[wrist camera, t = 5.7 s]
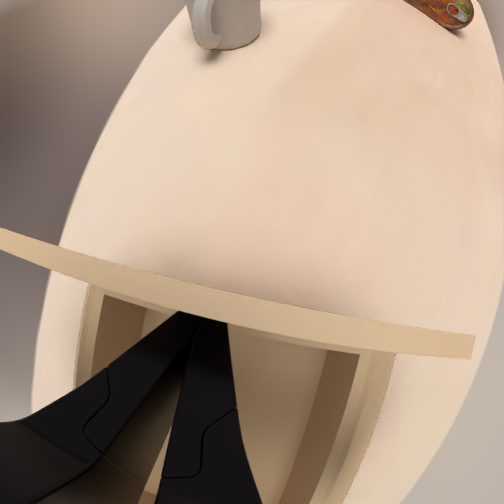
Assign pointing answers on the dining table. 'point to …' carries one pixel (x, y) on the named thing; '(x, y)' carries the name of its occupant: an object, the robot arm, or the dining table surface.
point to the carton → (265, 398)
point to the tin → (446, 11)
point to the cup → (224, 22)
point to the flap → (240, 305)
